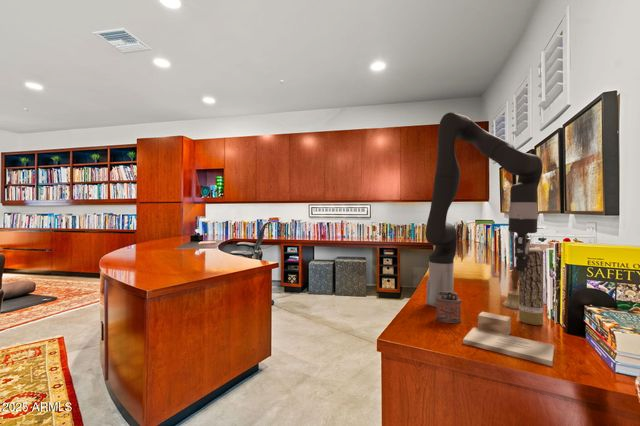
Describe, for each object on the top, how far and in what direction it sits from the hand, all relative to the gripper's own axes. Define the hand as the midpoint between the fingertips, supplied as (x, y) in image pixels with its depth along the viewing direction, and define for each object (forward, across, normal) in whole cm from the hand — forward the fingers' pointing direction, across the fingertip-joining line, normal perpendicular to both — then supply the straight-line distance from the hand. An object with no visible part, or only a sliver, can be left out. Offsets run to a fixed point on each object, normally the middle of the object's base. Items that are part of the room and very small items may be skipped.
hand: (521, 269), depth 96 cm
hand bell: (+20, -31, -4) cm, 37 cm away
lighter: (+20, +4, -20) cm, 29 cm away
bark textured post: (+20, -12, +2) cm, 23 cm away
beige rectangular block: (+20, +6, -6) cm, 21 cm away
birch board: (+19, +16, -2) cm, 25 cm away
